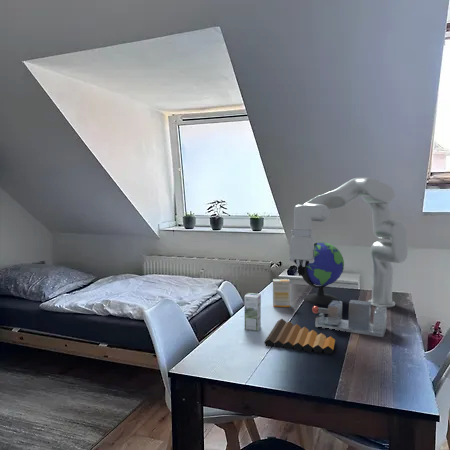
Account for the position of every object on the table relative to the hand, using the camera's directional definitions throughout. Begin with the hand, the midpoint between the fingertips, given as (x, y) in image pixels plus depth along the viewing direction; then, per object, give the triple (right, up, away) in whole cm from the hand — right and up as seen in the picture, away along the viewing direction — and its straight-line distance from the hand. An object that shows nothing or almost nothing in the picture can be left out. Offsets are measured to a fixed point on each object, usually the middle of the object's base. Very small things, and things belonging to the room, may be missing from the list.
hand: (301, 275), depth 184 cm
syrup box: (-22, -22, -7) cm, 31 cm away
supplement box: (-6, -18, +25) cm, 31 cm away
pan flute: (-3, -23, -18) cm, 30 cm away
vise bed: (+19, -21, -7) cm, 29 cm away
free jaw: (+10, -19, -3) cm, 21 cm away
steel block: (+22, -20, -8) cm, 31 cm away
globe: (+16, -17, +35) cm, 42 cm away
